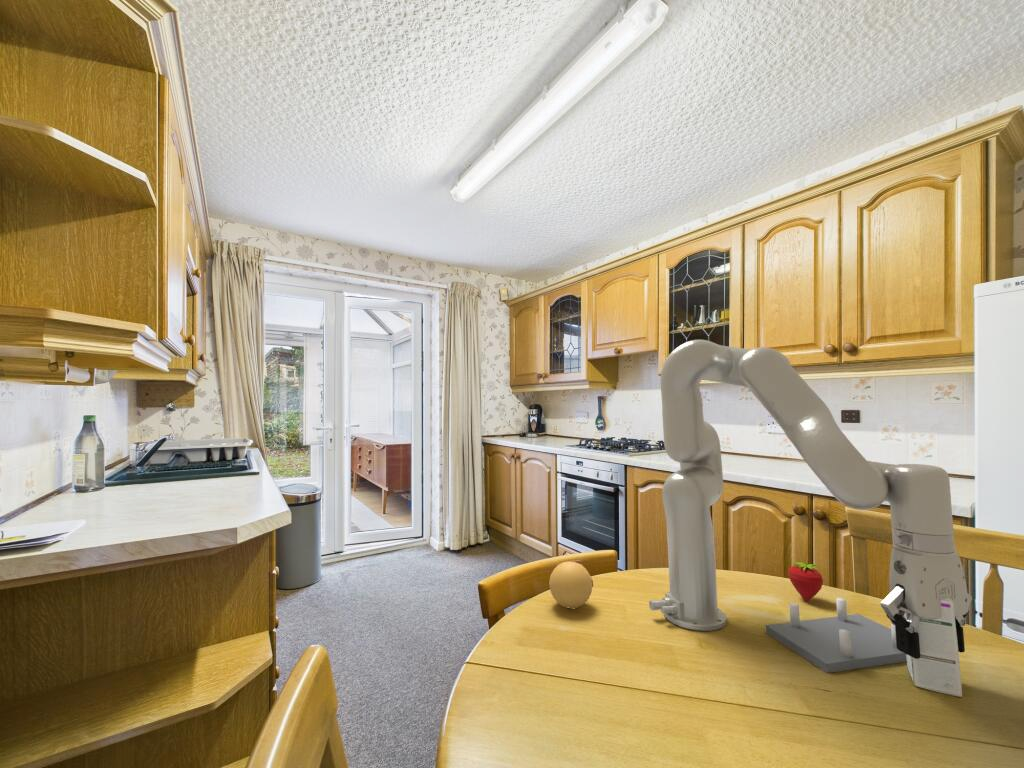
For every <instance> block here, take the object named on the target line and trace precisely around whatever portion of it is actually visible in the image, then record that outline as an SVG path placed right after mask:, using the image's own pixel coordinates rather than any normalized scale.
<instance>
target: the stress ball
mask: <svg viewBox="0 0 1024 768" xmlns="http://www.w3.org/2000/svg"><path fill="white" fill-rule="evenodd" d="M548 582H549V584H548V585H549V591H550V594H551V596H552V597H553V599H554V601H555V602H556V603H558V604H559V605H560V606H562V607H563V608H566V607H569V608H576V607H577V608H580V607H581V606H583V605H584V604H586V603H587V602H588V601H589V599H590V597H591V595H592V591H593V587H594V579H593V576H591V575H590V573H589V571H588V570H587V568H586V567H585V566H584V565H583V564H581V563H578V562H576V561H573V560H566V561H564V562H561V563H558V565H557V566H556V567H554V569H553V571H552V572H551V574H550V576H549V581H548ZM577 608H576V609H577Z"/></svg>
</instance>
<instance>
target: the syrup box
mask: <svg viewBox="0 0 1024 768" xmlns="http://www.w3.org/2000/svg"><path fill="white" fill-rule="evenodd" d="M940 599H941V601H940V602H941V614H942V617H941V618H938V619H930V620H925V619H921V618H920V619H919V622H918V624H917V626H916V629H915V632H917V633H919V644H920V658H919V659H915V658H913V657H911V656H909V655H907V654H906V660H907V661H906V669H907V671H908V673H909V676H910V678H911V681H912V682H913V685H914V686H915V687H919V688H921V689H925V690H928V691H933V692H936V693H937V692H938V693H942V694H946V695H950V696H954V697H959V698H963V691H962V690H963V689H962V688H963V687H962V674H961V665H960V654H959V653H960V652H958V643H957V633H956V624H955V615H954V604H953V601H952V600H951V599H950V598H940ZM905 606H906V609H909V610H910V608H909V606H908V604H907V601H906V604H905ZM903 617H904V618H905V620H906V621H907V622H908V619H909V617H910V614H906V613H905V614H904V616H903Z"/></svg>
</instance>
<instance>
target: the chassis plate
mask: <svg viewBox="0 0 1024 768" xmlns="http://www.w3.org/2000/svg"><path fill="white" fill-rule="evenodd" d="M835 603H836V616H829V617H820V618H815V619H813V618H812V619H806V620H805V619H804V620H801V615H800V606H799V604H797V603H794V602H791V603H789V619H790V621H788V622H780V623H772V624H771V623H770V624H765V633H766V634H767V635H769V637H772V638H773V639H775V640H776V641H778V642H779V643H781V644H782V645H784V646H785V647H787V648H789V649H790V650H792V651H793V652H795V653H796V654H798V655H799V656H801V657H802V658H804V659H805V660H807V661H808V662H810V663H811V664H813V665H814V666H816V667H817V668H819V669H820V670H822V671H824V672H825V673H827V674H830V673H835V672H837V673H838V672H842V671H849V670H856V669H857V670H858V669H864V668H871V667H876V666H883V665H891V664H898V663H905V662H906V663H907V660H906V654H905V653H903V652H901V651H899V650H898V649H897V646H896V631H895V625H893V624H892V623H890V628H889V627H888V626H885V625H883V624H881V623H879V622H877V621H875V620H872V619H870V618H868V617H866V616H864V615H862V614H859V613H855V614H848V610H847V600H846V599H845V598H842V597H837V598H836V601H835Z"/></svg>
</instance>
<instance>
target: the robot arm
mask: <svg viewBox="0 0 1024 768" xmlns="http://www.w3.org/2000/svg"><path fill="white" fill-rule="evenodd" d="M701 381H708V382H715V383H716V382H717V383H722V384H723V383H724V384H728V385H733V386H738V387H746V388H748V389H749V390H750V392H751V393H752V394H753V395H754V396H755V398H756V399H757V400H758V401H759V402H760V404H761V405H762V406H763V408H765V410H766V411H767V412H768V413H769V415H770V416H771V417H772V418H773V420H775V422H776V423H777V424H778V426H780V428H781V430H782V431H783V433H784V434H785V436H786V437H787V439H788V440H789V441H790V443H791V444H792V445H793V446H794V448H795V449H796V450H797V452H798V453H799V454H800V456H801V457H802V459H803V460H804V462H806V464H807V465H808V467H809V468H810V469H811V471H812V472H813V473H814V474H815V476H816V477H817V478H818V479H819V480H820V482H821V483H822V484H823V485H824V487H826V489H827V490H828V492H829V493H831V494H832V496H833V497H834V498H835V499H836V500H837V501H838V502H840V503H841V504H842V505H844V506H846V507H848V508H850V509H853V510H859V511H868V510H873V509H875V508H877V507H880V506H881V505H882V504H883V503H884V502H887V503H889V505H890V506H889V508H890V522H891V535H892V537H891V540H892V546H893V547H891V548H892V549H891V554H890V563H889V591H890V592H889V594H888V595H887V596H886V597H884V599H883V600H881V602H880V606H881V608H882V610H883V611H884V613H885V615H886V617H887V618H888V619H889V620H890V622H891V623H892V624H893V625H895V631H896V646H897V649H898V650H899V651H901V652H903V653H905V654H907V655H909V656H911V657H913V658H915V659H919V658H920V644H919V633H917V632H915V629H916V626H917V624H918V622H919V619H920V618H921V619H925V620H930V619H938V618H941V617H942V614H941V602H940V601H941V599H940V598H950V599H951V600H952V601H953V604H954V615H955V624H956V633H957V643H958V653H965V651H966V648H965V637H964V627H965V626H966V624H967V621H966V619H965V618H966V616H967V615H968V614H969V610H970V605H971V602H972V600H973V596H972V595H971V594H970V593H968V588H967V583H966V577H965V573H964V567H963V563H962V562H961V558H960V555H959V553H958V551H957V550H956V546H955V533H954V531H955V530H954V520H953V509H952V496H951V495H952V494H951V484H950V483H951V482H950V476H949V474H948V472H947V471H946V469H944V468H942V467H940V466H937V465H936V466H935V465H929V464H921V463H920V464H918V463H917V464H916V463H902V464H900V463H899V464H891V463H884V462H879V461H872V460H867V459H866V458H865V457H864V456H863V455H862V454H861V452H860V451H859V450H858V449H857V448H856V447H855V446H854V445H853V443H852V442H851V441H850V439H849V438H848V437H847V436H846V435H845V434H844V432H843V431H842V430H841V428H840V427H839V425H838V424H837V422H836V421H835V418H834V416H833V414H832V412H831V410H830V408H829V407H828V405H827V404H826V403H825V402H824V400H823V399H822V398H821V397H820V396H819V395H818V394H817V392H815V391H814V390H813V389H812V388H811V387H810V385H809V384H808V383H807V382H806V381H805V380H804V379H803V378H802V376H801V375H800V374H799V373H798V372H797V371H796V370H795V368H794V367H793V366H792V364H791V362H790V360H789V358H788V357H787V356H786V355H784V354H783V353H782V352H779V351H778V350H777V349H774V348H772V347H771V348H770V347H767V346H761V347H754V348H742V347H734V346H728V345H727V346H726V345H721V344H718V343H715V342H713V341H710V340H706V339H693V340H689V341H686V342H684V343H682V344H680V345H679V346H677V347H676V348H674V349H673V350H672V351H671V352H670V353H669V355H668V356H667V358H666V359H665V360H664V362H663V365H662V368H661V372H660V392H661V393H660V396H661V407H662V408H661V415H662V416H661V417H662V427H663V428H662V429H663V432H662V433H663V444H664V446H663V447H664V449H665V453H666V454H667V456H668V457H669V458H670V459H671V460H673V461H674V462H676V463H679V467H680V469H679V470H676V471H674V472H673V473H671V474H670V475H669V476H668V477H667V478H666V480H665V481H664V483H663V486H662V490H661V492H662V493H661V498H662V504H663V510H664V517H665V523H666V539H667V540H666V541H667V557H668V558H667V559H668V577H669V578H668V579H669V582H668V583H669V592H665V595H664V596H665V597H662V599H653V600H652V599H651V600H649V602H648V607H649V609H650V610H651V611H660V612H661V613H662V614H663V616H664V617H665V619H666V618H667V619H666V620H667V621H669V622H670V623H671V624H673V625H676V626H679V627H681V628H684V629H687V630H693V631H703V632H707V631H710V632H711V631H716V630H720V629H723V628H724V627H725V626H726V624H727V615H726V613H725V612H724V611H723V610H722V609H720V608H719V607H718V590H717V589H718V587H717V571H716V569H717V568H716V567H717V566H716V548H715V547H716V546H715V534H714V525H713V521H712V520H713V519H712V516H711V510H710V507H712V505H715V504H716V503H717V502H718V501H719V500H720V498H721V496H722V495H723V491H724V478H723V477H724V476H723V462H722V449H721V441H720V437H719V434H718V432H717V431H716V429H715V428H714V426H713V425H711V424H710V423H709V422H707V421H705V418H704V410H703V409H704V405H703V404H704V403H703V398H702V394H701V389H700V386H701ZM906 601H907V604H908V606H909V608H910V610H909V609H906V606H905V604H906ZM905 613H906V614H910V617H909V619H908V622H907V621H906V620H905V618H904V617H903V616H904V614H905ZM891 623H890V624H891Z"/></svg>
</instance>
